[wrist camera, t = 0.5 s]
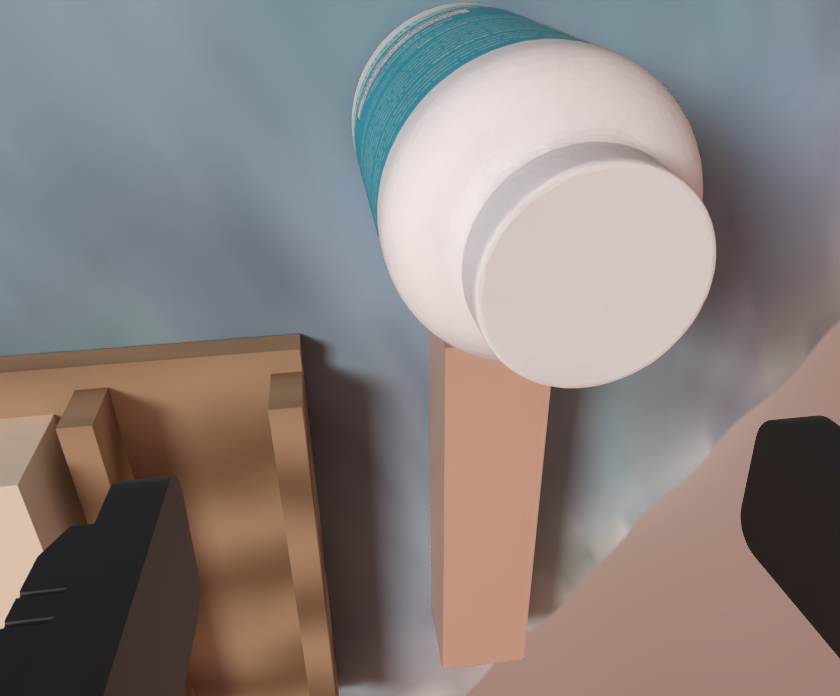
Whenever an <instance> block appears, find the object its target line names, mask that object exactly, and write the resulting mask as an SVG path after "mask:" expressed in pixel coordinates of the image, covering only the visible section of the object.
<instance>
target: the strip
mask: <svg viewBox="0 0 840 696" xmlns="http://www.w3.org/2000/svg"><path fill="white" fill-rule="evenodd" d="M56 427H57V422H56V419H55V416H54V414H53V415H41V416H30V417H18V418H6V419H0V629H3V628H4V626H5V622H4V621H5V619H6V617H7V615H8V613H9V611H10V609H11V607H12V605H13V603H14V601H15V599H16V598H19V597H20V590H21V588H22V586H23V584H24V582H25V580H26V578H27V576H28V574H29V572H30V570H31V568H32V566H33V564H34V562H35V560H36V559H37V557H38V556H39V555H40V554H41V553H42V552H43V551H44V550H45V549H46V548H47V547H48V546H49V545H51V544H52V543H53V542H54V541H55V540H56V539H57V538H58V537H59V536H60V535H61V534H62V533H63V532H64V531H65V530H67V529H68V528H69V527H70V526H77V525H87V524H88V523H87V520H86V517H85V514H84V511H83V509H82V506H81V503H80V500H79V497H78V494H77V491H76V488H75V485H74V482H73V479H72V476H71V473H70V470H69V467H68V464H67V461H66V458H65V456H64V453H63V450H62V447H61V444H60V441H59V438H58V435H57V432H56Z"/></svg>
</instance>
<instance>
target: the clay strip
mask: <svg viewBox="0 0 840 696" xmlns="http://www.w3.org/2000/svg"><path fill="white" fill-rule="evenodd" d="M550 390H551V386H546V385H541V384H538V383H535V382H533V381H530V380H528V379H526V378H524V377H522V376H519V375H518V374H516V373H515V372H513V371H512V370H510V369H509V368H508V367H507V366H505V365H504V364H503V363H502V362H498V361H493V360H488V359H484V358H480V357H477V356H473V355H470V354H468V353H465V352H463V351H461V350H458V349H457V348H455V347H453V346H451V345H450V344H448V343H446V342H445V341H443V340H442V339H440V338H439V337H437V336H436V335H435V334H433V333H432V332H431V331H430V503H431V610H432V615H433V620H434V626H435V631H436V636H437V642H438V647H439V652H440V657H441V663H442V668H443V670H445V669H452V668H459V667H467V666H474V665H482V664H489V663H496V662H504V661H511V660H518V659H523V658H524V650H525V640H526V630H527V620H528V610H529V600H530V590H531V580H532V570H533V560H534V550H535V540H536V530H537V520H538V510H539V500H540V490H541V480H542V470H543V460H544V450H545V440H546V430H547V420H548V410H549V400H550Z"/></svg>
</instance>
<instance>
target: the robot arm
mask: <svg viewBox="0 0 840 696" xmlns="http://www.w3.org/2000/svg"><path fill="white" fill-rule="evenodd" d="M741 525H742V531H743V534H744V537H745V540H746V543H747V545H748V547H749V549H750V550H751V552H752V553H753V555H754V556H755V557H756V559H757V560H758V561H759V562H760V563H761V565H762V566H763V567H764V568H765V569H766V570H767V572H768V573H769V574H770V575H771V576H772V578H773V579H774V580H775V581H776V582H777V583H778V585H779V586H780V587H781V589H782V590H783V591H784V592H785V593H786V594H787V596H788V597H789V598H790V599H791V600H792V602H793V603H794V604H795V605H796V606H797V608H798V609H799V610H800V611H801V612H802V614H803V615H804V616H805V617H806V618H807V620H808V621H809V622H810V623H811V624H812V625H813V627H814V628H815V629H816V630H817V632H818V633H819V634H820V635H821V636H822V638H823V639H824V640H825V641H826V642H827V643H828V644H829V646H830V647H831V648H832V650H833V651H834V652H835V653H836V654H837V656H838V657H839V658H840V426H838V425H837V424H836V423H835V422H833V421H832V420H830V419H828V418H827V417H824V416H809V417H799V418H788V419H778V420H769V421H767V422H765V423H764V424H763V425H761V427H760V428H759V431H758V433H757V436H756V440H755V445H754V450H753V455H752V460H751V464H750V469H749V474H748V479H747V483H746V488H745V493H744V498H743V503H742V508H741ZM198 613H199V576H198V569H197V563H196V558H195V553H194V548H193V543H192V538H191V533H190V528H189V522H188V517H187V512H186V507H185V502H184V497H183V492H182V488H181V484H180V482H179V479H178V478H177V477H176V476H167V477H156V478H146V479H135V480H125V481H116V482H114V483H113V484H112V485H111V487H110V489H109V491H108V493H107V496H106V498H105V500H104V502H103V505H102V507H101V509H100V512H99V514H98V516H97V519H96V521H95V523H94V524H87V525H77V526H70V527H69V528H68V529H67V530H65V531H64V532H63V533H62V534H61V535H60V536H59V537H58V538H57V539H56V540H55V541H54V542H53V543H52V544H51V545H49V546H48V547H47V548H46V549H45V550H44V551H43V552H42V553H41V554H40V555H39V556H38V557H37V559H36V560H35V562H34V564H33V566H32V568H31V570H30V572H29V574H28V576H27V578H26V580H25V582H24V584H23V586H22V588H21V590H20V597H19V598H16V599H15V601H14V603H13V605H12V607H11V609H10V611H9V613H8V615H7V617H6V619H5V621H4V622H5V626H4V628H3V629H0V696H183V694H184V689H185V683H186V678H187V673H188V668H189V662H190V657H191V652H192V647H193V641H194V636H195V631H196V626H197V620H198Z"/></svg>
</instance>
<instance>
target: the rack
mask: <svg viewBox="0 0 840 696" xmlns="http://www.w3.org/2000/svg"><path fill="white" fill-rule="evenodd" d="M53 414H54V416H55V419H56V422H57V427H56V432H57V435H58V438H59V441H60V444H61V447H62V450H63V453H64V456H65V458H66V461H67V464H68V467H69V470H70V473H71V476H72V479H73V482H74V485H75V488H76V491H77V494H78V497H79V500H80V503H81V506H82V509H83V511H84V514H85V517H86V520H87V523H88V524H94V523H95V521H96V519H97V516H98V514H99V512H100V509H101V507H102V505H103V502H104V500H105V498H106V496H107V493H108V491H109V489H110V487H111V485H112V484H113V483H114V482H116V481H125V480H135V479H146V478H156V477H167V476H176V477H177V478H178V479H179V482H180V484H181V488H182V492H183V497H184V502H185V507H186V512H187V517H188V522H189V528H190V533H191V538H192V543H193V548H194V553H195V558H196V563H197V569H198V576H199V613H198V620H197V626H196V631H195V636H194V641H193V647H192V652H191V657H190V662H189V668H188V673H187V678H186V683H185V689H184V694H183V696H339V691H338V676H337V666H336V657H335V648H334V639H333V630H332V621H331V612H330V603H329V594H328V585H327V576H326V567H325V558H324V549H323V540H322V531H321V521H320V512H319V503H318V494H317V485H316V476H315V467H314V458H313V449H312V440H311V431H310V422H309V413H308V404H307V395H306V385H305V376H304V367H303V358H302V349H301V340H300V334H291V335H278V336H265V337H252V338H238V339H225V340H212V341H199V342H186V343H173V344H160V345H147V346H134V347H121V348H108V349H94V350H81V351H68V352H55V353H42V354H29V355H16V356H3V357H0V419H6V418H18V417H30V416H41V415H53Z"/></svg>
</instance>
